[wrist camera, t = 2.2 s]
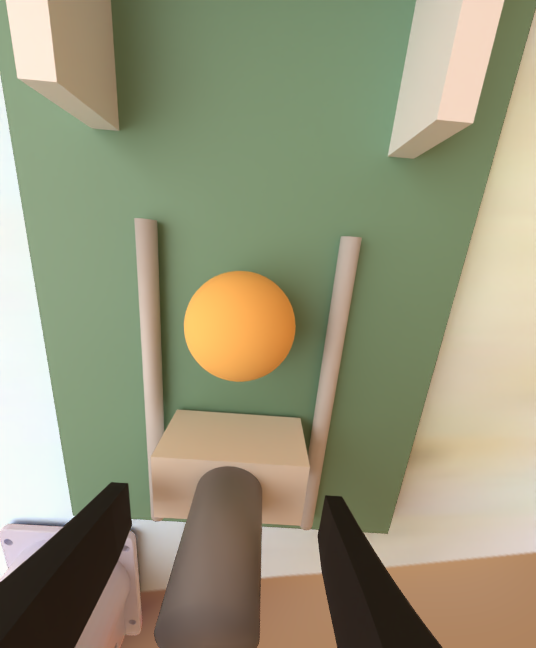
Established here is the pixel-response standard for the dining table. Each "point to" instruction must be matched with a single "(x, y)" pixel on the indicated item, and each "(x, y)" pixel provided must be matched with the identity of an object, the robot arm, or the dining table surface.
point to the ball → (239, 326)
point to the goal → (415, 91)
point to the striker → (223, 519)
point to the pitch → (251, 232)
